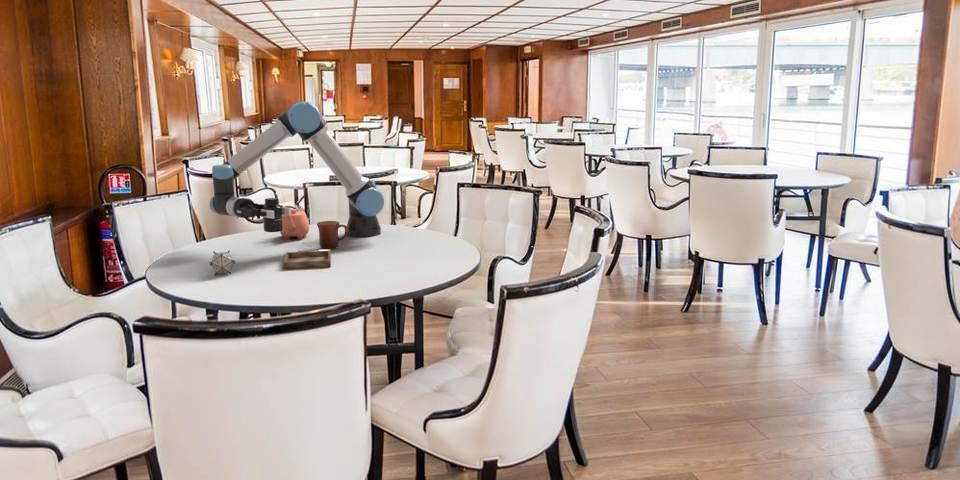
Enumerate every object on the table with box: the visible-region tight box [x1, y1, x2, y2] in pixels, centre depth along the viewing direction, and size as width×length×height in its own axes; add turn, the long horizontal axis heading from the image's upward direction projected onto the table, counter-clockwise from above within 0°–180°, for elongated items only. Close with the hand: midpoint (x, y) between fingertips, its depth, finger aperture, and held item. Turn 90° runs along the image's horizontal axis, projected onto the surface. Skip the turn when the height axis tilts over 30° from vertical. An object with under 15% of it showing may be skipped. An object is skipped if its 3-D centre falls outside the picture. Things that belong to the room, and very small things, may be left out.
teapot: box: [279, 208, 310, 240], centre depth 300 cm, size 20×12×12 cm, turn 2°
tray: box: [283, 250, 332, 270], centre depth 257 cm, size 16×16×2 cm
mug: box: [316, 220, 348, 250], centre depth 280 cm, size 12×9×10 cm
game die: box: [208, 250, 236, 276], centre depth 241 cm, size 9×8×10 cm
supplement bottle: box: [262, 197, 283, 233], centre depth 259 cm, size 7×7×12 cm
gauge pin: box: [297, 249, 332, 252], centre depth 268 cm, size 12×2×2 cm, turn 102°
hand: (281, 213), depth 256 cm, fingers closed on supplement bottle, 7 cm apart
